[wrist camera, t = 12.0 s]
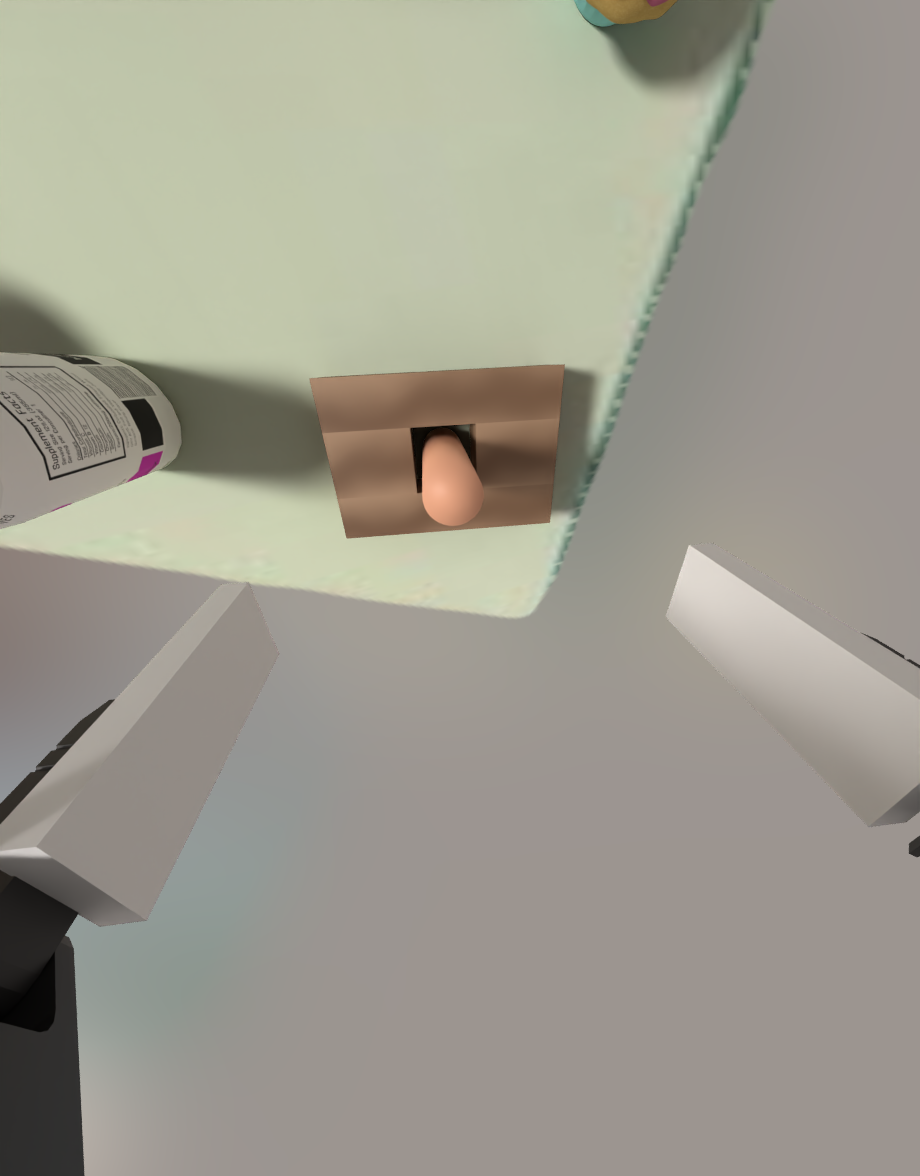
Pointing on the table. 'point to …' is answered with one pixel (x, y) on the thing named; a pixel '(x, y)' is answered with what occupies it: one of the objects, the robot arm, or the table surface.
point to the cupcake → (622, 10)
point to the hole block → (438, 398)
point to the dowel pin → (449, 479)
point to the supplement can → (76, 430)
